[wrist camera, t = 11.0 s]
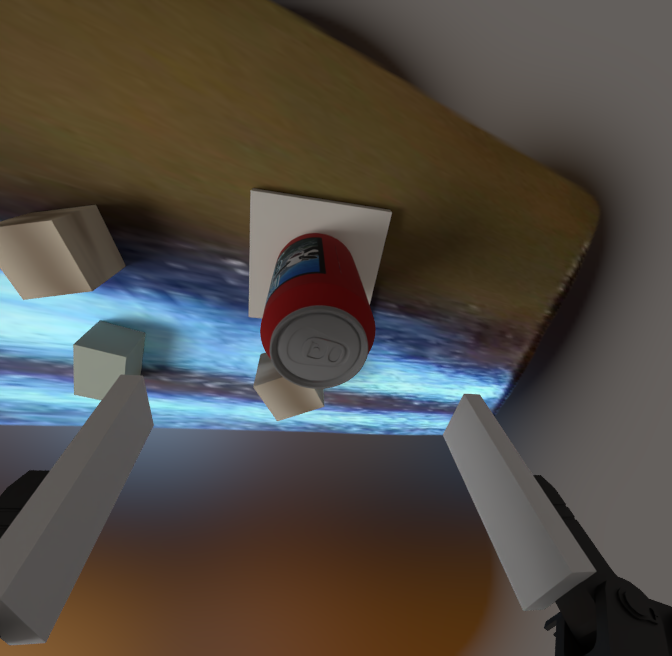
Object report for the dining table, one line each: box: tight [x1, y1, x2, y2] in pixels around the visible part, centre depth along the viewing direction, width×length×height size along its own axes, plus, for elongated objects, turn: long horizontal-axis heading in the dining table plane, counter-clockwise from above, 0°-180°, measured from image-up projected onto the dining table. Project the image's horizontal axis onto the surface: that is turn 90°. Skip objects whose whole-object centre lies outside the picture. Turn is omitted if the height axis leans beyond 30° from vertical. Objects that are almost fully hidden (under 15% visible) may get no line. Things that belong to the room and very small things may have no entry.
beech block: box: [0, 205, 126, 300], centre depth 23 cm, size 5×5×5 cm
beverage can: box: [260, 233, 375, 389], centre depth 22 cm, size 7×7×12 cm
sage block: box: [73, 321, 146, 400], centre depth 30 cm, size 4×6×4 cm, turn 157°
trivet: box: [249, 188, 392, 318], centre depth 27 cm, size 11×11×1 cm
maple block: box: [253, 353, 324, 421], centre depth 32 cm, size 5×5×5 cm
